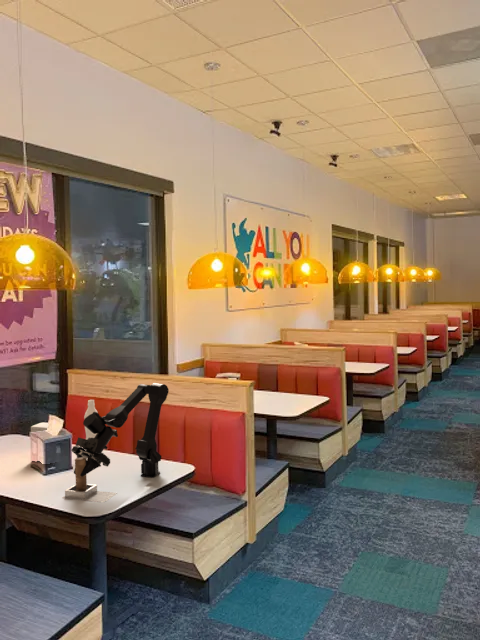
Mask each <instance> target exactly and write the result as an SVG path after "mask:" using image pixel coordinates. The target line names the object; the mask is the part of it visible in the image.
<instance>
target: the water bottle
mask: <svg viewBox="0 0 480 640" xmlns="http://www.w3.org/2000/svg"><path fill="white" fill-rule="evenodd" d="M95 405H96V404H95V399H89V400H88V401H87V409H86V411H85V413H84V417H83V419H85V418H86V417H87V416H89V415H90V414H92V413H93V412H97V413H98V414H99V412H98V410H97V409H96V406H95ZM84 430H85V439H86V440H87V439H88V438H94V437H95V436H96V434H97V433H96V434H93V433H92V432H91V431H90V430H89V429H88V428H86V427H85V426H84Z"/></svg>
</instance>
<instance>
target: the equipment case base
mask: <svg viewBox="0 0 480 640" xmlns="http://www.w3.org/2000/svg"><path fill="white" fill-rule="evenodd" d="M116 495H118V492H110V491H102V490H97V492H95V493H94V494H92V495H91V496H89V497H88V498H86V499H79V498H70V497H65V495H64V496H63V497H61V498H62V499H67V500H76V501H87V502H94V503H95V502H97V503H105V502H107V501H108V500H110V499H111V498H113V497H114V496H116Z"/></svg>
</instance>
